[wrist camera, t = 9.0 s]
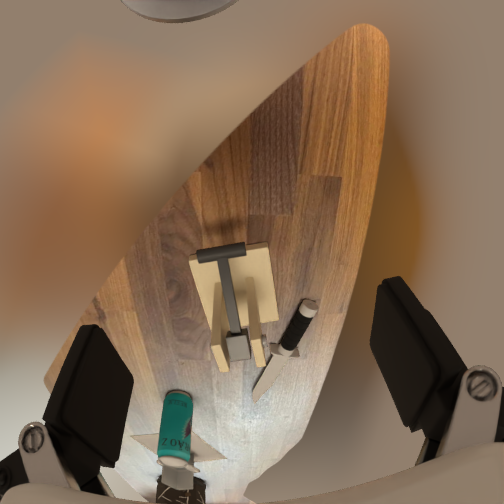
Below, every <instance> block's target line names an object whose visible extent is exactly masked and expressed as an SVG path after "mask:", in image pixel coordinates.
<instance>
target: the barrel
mask: <svg viewBox="0 0 504 504" xmlns="http://www.w3.org/2000/svg"><path fill="white" fill-rule="evenodd" d="M161 480H162V476H160V479H158V480H157V482H158V485H157V493H156V503H157V504H205V489H206V485H205V484H204V483H203V481H202V480H200V479H198V478H196V477H193V489H182V490H176V489H174V488H172V487H170V486H168V485H166V484H164V483H162V482H161Z"/></svg>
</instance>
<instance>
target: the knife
mask: <svg viewBox="0 0 504 504" xmlns="http://www.w3.org/2000/svg"><path fill="white" fill-rule="evenodd" d="M317 310H318V305H317V304H316V303H315V302H313V301H311V300H308V299H305V300H303V302H302V304H301V306H300V308H299V310H298V312H297V314H296V315H295V317H294V319H293V321H292V323H291V325H290V327H289V328H288V330H287V332H286V334H285V336H284V338H283V339H282V341H281V343H280V344H270V346H269V348H270V353H271V354H273V357H272V359H271V361H270V362H269V364H268V366H267V368H266V369H265V371H264V373H263V374H262V376H261V378H260V380H259V381H258V383H257V385H256V386H255V388H254V390H253V401H254V404H255V403H256V402H257V401H258V399H259V398H260V397H261V396H262V395H263V394H264V393H265V392H266V391H267V390H268V389H269V388H270V387H271V386H272V385H273V383H274V381H275V380H276V378H277V377H278V375H279V374H280V372H281V370H282V369H283V367H284V366H285V364H286V362H287V361H288V359H289V358H299V356H300V355H299V351H298V349H297V348H296V346H297V344H298V343H299V341H300V339H301V338H302V336H303V334H304V333H305V331H306V329H307V327H308V326H309V324H310V322H311V320H312V319H313V317H314V315H315V313H316V312H317Z"/></svg>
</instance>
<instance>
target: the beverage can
mask: <svg viewBox="0 0 504 504" xmlns="http://www.w3.org/2000/svg"><path fill="white" fill-rule="evenodd" d="M192 415H193V403H192V400H191V397H190V396H189V395H188V394H187V393H185V392H182V391H172V392H170V393H169V394H168V395H167V396H166V398H165V399H164V404H163V411H162V418H161V425H160V432H159V440H158V448H157V455H158V462H159V463H161V464H163V465H165V466H169V467H174V468H182V467H186V466H187V465H188V461H189V459H190V448H191V430H192Z"/></svg>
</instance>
